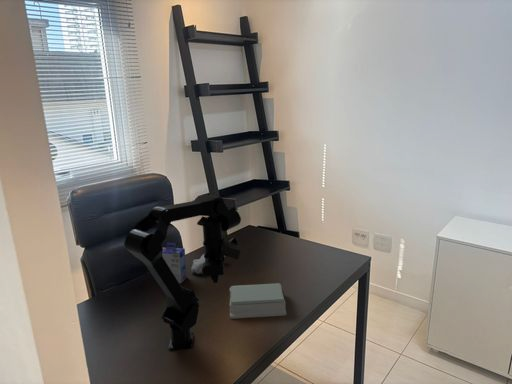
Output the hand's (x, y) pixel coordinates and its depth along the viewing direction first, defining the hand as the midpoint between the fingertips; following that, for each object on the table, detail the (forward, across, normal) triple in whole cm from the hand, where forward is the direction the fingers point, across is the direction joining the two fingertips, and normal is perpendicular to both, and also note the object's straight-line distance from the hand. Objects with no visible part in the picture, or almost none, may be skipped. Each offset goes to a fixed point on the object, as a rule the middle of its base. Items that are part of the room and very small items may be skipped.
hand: (215, 282), depth 117 cm
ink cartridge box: (+12, +26, +18) cm, 34 cm away
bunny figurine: (+12, +35, +5) cm, 37 cm away
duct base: (+12, +6, -13) cm, 19 cm away
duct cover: (+8, +5, -13) cm, 16 cm away
